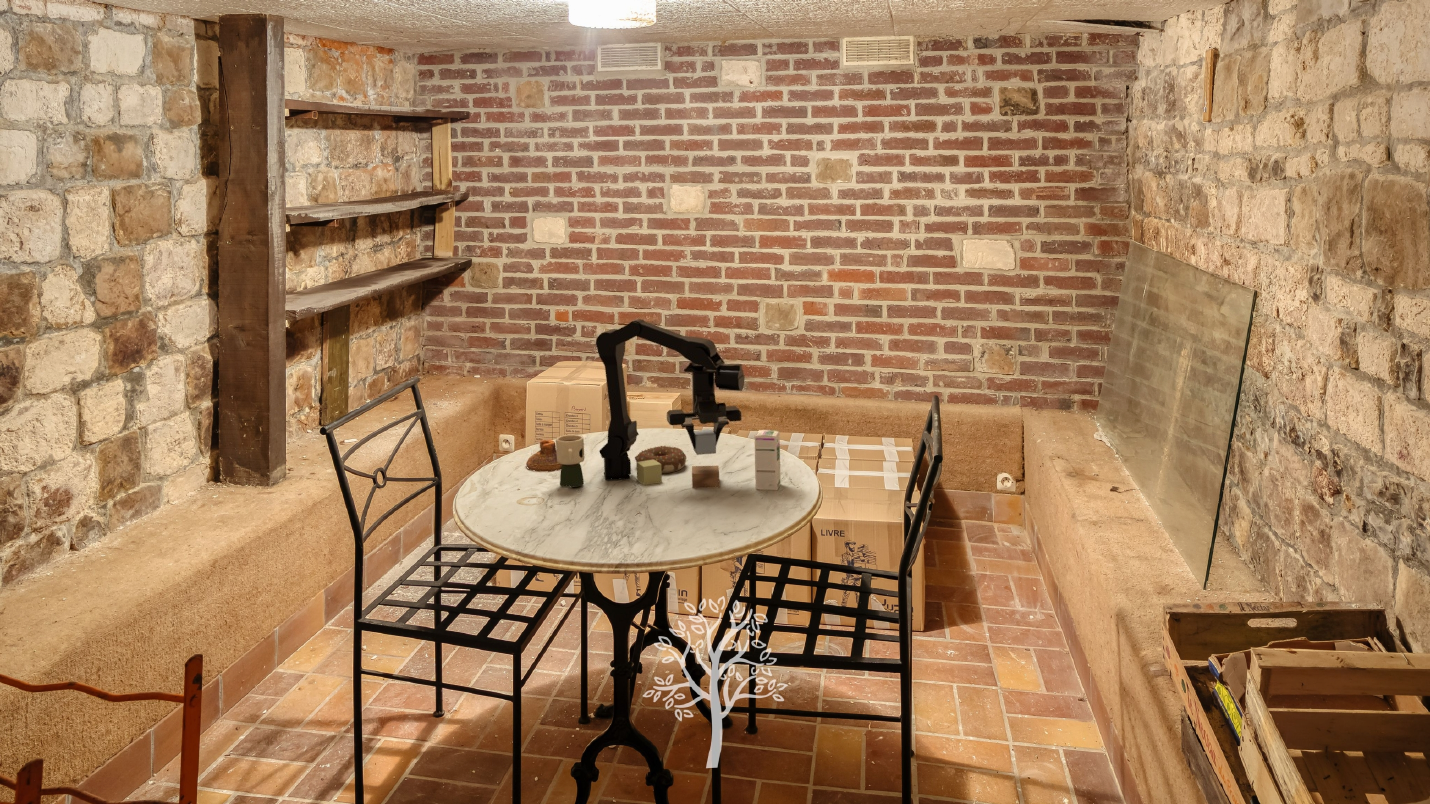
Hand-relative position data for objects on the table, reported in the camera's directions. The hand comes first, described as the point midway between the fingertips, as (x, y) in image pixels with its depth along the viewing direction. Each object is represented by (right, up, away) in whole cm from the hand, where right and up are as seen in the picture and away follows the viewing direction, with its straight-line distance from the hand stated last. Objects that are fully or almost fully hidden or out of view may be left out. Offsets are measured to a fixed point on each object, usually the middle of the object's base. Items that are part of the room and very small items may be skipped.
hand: (704, 447), depth 262 cm
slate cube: (0, -1, 0) cm, 1 cm away
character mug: (-35, -10, +2) cm, 36 cm away
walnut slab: (0, -10, +2) cm, 10 cm away
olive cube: (-15, -9, +5) cm, 18 cm away
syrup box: (+16, -10, -1) cm, 19 cm away
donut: (-12, -7, +17) cm, 22 cm away
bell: (-44, -6, +21) cm, 49 cm away
